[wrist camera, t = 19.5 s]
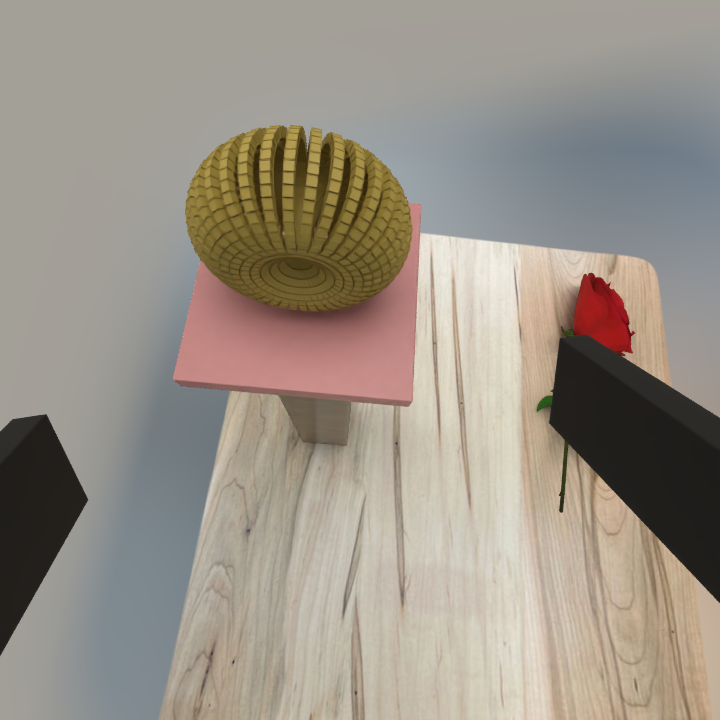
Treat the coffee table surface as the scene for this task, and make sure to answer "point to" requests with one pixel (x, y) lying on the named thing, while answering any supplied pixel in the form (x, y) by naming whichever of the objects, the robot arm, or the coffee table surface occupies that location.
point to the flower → (596, 331)
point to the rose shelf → (304, 342)
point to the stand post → (319, 418)
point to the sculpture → (299, 219)
